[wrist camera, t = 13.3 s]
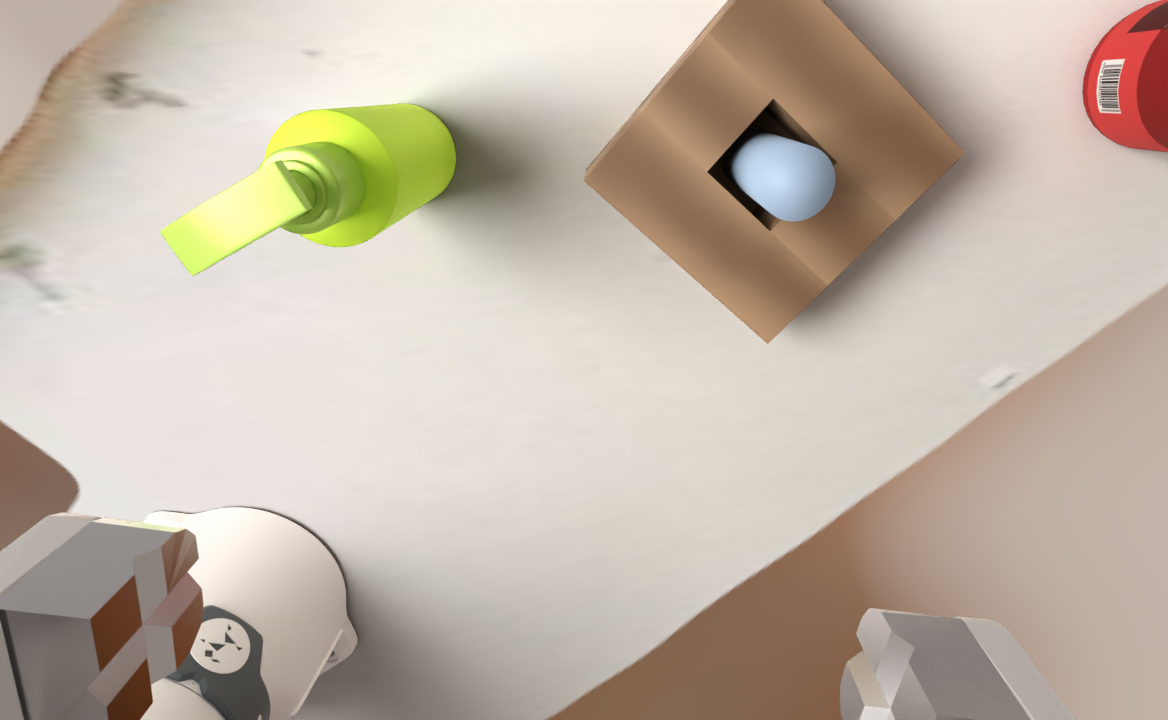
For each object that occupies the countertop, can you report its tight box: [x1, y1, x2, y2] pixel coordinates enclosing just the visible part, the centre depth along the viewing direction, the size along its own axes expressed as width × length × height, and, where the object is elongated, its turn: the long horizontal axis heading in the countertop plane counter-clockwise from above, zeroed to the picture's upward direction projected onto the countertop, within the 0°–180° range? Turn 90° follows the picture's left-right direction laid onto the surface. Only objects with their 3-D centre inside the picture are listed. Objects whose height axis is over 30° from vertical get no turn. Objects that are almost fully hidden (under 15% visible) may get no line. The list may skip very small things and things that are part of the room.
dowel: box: [722, 129, 835, 222], centre depth 36 cm, size 3×3×11 cm
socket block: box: [584, 0, 965, 344], centre depth 39 cm, size 14×14×6 cm
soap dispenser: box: [160, 104, 456, 276], centre depth 33 cm, size 6×7×20 cm
